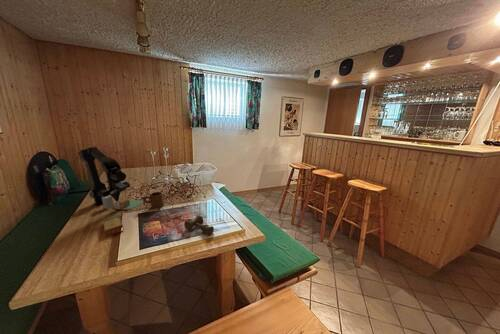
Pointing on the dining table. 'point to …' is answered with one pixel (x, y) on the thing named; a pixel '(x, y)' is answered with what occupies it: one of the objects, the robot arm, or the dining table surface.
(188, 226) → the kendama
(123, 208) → the batten
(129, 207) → the felt mat
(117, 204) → the walnut block
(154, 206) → the mug
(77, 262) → the dining table surface
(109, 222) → the carton
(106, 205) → the grey block
